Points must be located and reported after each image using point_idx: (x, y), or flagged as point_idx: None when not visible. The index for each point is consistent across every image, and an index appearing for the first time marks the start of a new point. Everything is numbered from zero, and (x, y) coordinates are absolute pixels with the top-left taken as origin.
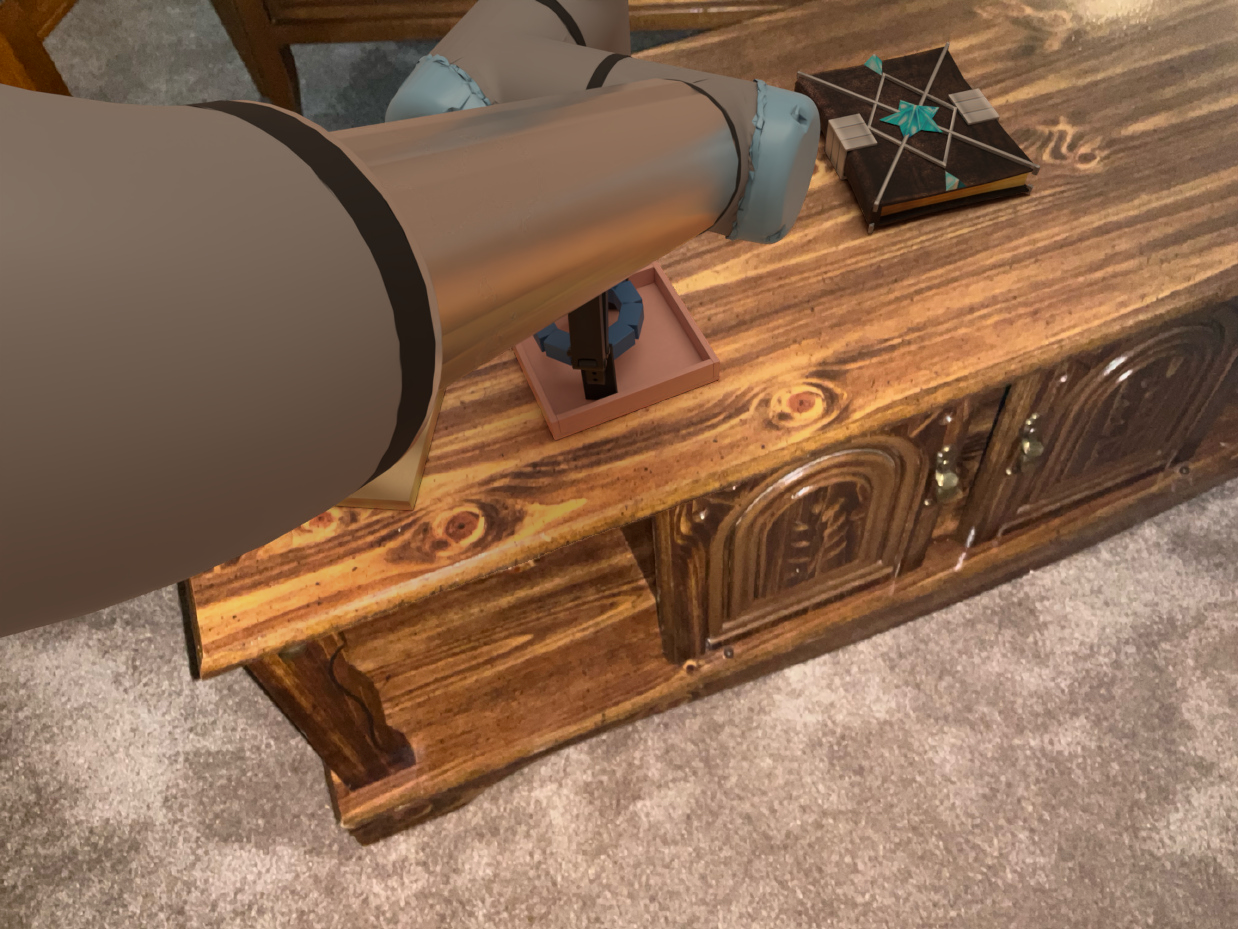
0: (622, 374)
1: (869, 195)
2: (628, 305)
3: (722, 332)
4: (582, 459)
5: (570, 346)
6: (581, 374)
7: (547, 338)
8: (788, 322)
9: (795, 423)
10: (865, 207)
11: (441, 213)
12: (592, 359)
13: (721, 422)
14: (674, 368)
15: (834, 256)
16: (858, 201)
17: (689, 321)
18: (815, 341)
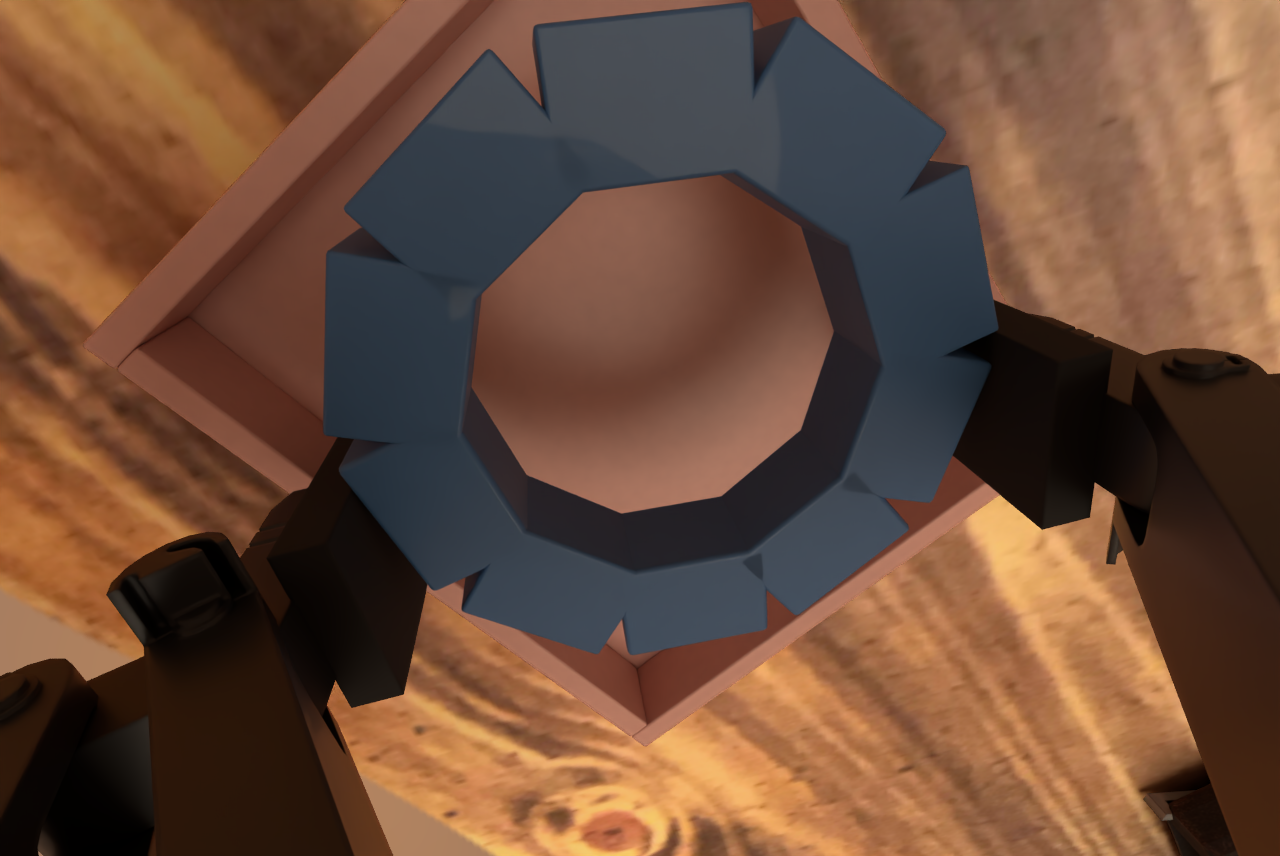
0: (551, 446)
1: None
2: (743, 582)
3: None
4: (139, 434)
5: (230, 544)
6: (334, 442)
7: (367, 266)
8: (860, 742)
9: (548, 841)
10: (1224, 825)
11: None
12: (39, 848)
13: (487, 723)
14: None
15: (1079, 756)
16: None
17: (790, 628)
18: (806, 801)
